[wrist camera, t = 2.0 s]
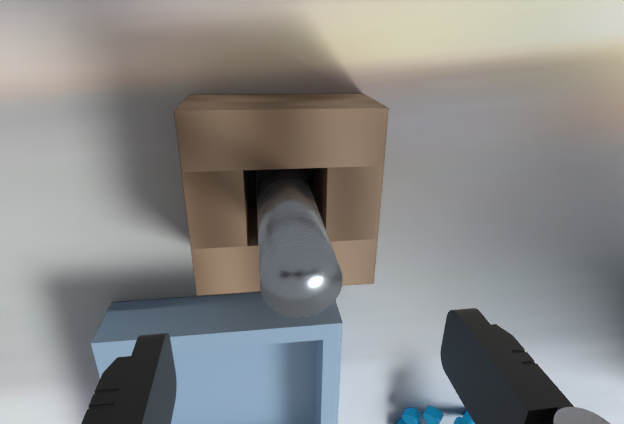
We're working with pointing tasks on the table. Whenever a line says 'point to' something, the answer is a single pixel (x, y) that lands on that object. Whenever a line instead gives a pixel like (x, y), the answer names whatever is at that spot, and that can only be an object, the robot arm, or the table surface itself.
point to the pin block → (279, 155)
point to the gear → (430, 417)
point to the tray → (235, 357)
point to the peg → (293, 246)
